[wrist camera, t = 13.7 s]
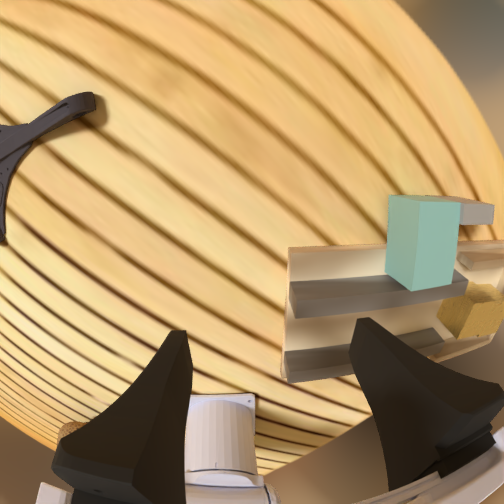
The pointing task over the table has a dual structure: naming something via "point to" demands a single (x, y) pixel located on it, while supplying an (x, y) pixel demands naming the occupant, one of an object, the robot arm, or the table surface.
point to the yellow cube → (493, 310)
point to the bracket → (21, 136)
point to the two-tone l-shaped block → (428, 237)
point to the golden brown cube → (466, 312)
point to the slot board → (371, 305)
